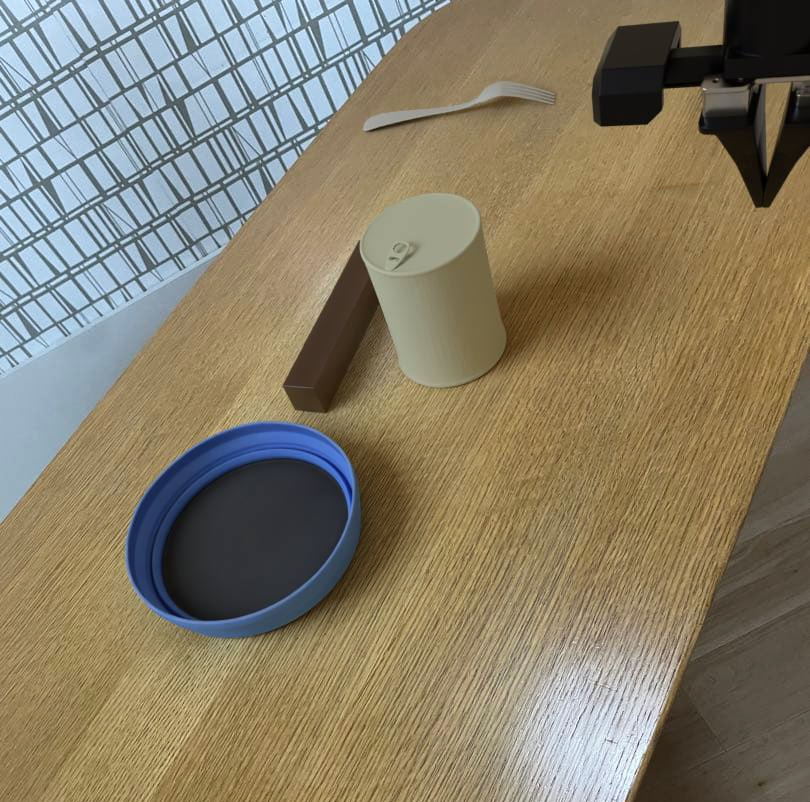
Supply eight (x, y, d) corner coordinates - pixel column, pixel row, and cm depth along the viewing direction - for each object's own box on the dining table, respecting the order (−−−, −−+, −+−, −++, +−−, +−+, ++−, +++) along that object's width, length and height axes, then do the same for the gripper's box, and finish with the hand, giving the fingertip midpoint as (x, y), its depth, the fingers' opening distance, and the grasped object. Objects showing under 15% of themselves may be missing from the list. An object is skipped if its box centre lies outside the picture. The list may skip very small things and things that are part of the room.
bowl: (383, 438, 66) (370, 408, 64) (353, 644, 57) (336, 619, 54) (179, 457, 71) (158, 430, 68) (119, 651, 61) (92, 628, 58)
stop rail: (397, 266, 78) (388, 239, 75) (326, 413, 70) (314, 388, 67) (368, 266, 79) (358, 239, 77) (294, 410, 71) (281, 385, 68)
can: (378, 373, 71) (332, 257, 61) (433, 300, 74) (398, 179, 64) (472, 400, 66) (439, 279, 57) (526, 321, 70) (503, 194, 60)
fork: (374, 139, 95) (365, 116, 93) (555, 91, 87) (549, 66, 85) (369, 154, 94) (360, 131, 92) (553, 107, 86) (547, 81, 84)
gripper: (1032, -201, 39) (943, 118, 52) (625, -136, 46) (633, 131, 59) (1039, -86, 34) (938, 237, 46) (579, -32, 41) (599, 235, 53)
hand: (763, 203), depth 51 cm, fingers closed
